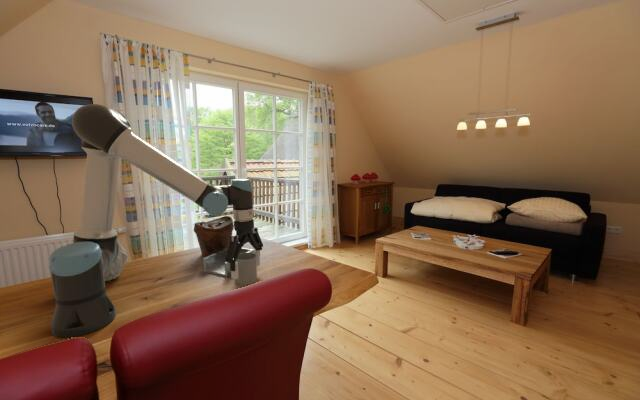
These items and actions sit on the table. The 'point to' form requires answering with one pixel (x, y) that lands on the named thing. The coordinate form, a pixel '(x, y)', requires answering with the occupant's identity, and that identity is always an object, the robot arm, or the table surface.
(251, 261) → the cup
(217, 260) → the silver open box
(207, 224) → the case
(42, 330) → the table surface
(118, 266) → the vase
